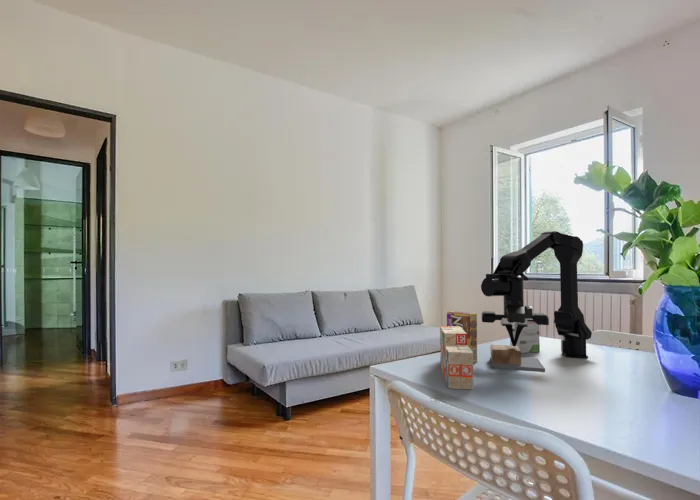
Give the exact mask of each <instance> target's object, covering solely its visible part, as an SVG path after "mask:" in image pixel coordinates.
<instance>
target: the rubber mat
mask: <svg viewBox="0 0 700 500" xmlns="http://www.w3.org/2000/svg"><path fill="white" fill-rule="evenodd" d="M490 360H491V365H492V368H496V369H508V370H509V369H510V370H521V371H522V370H523V371H536V372H545V371H546V368H545V366H544V365H543V363H541V361H540V359H539V357H525V356H524V357H523V356H521V365H519V364H505V363H493V362H492V359H491V358H490Z"/></svg>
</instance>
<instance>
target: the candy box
mask: <svg viewBox="0 0 700 500" xmlns="http://www.w3.org/2000/svg"><path fill="white" fill-rule="evenodd" d="M477 317H478V314H477V313H473V312H464V311H458V310H457V311H456V310H455V311H454V310H450V311H447V312H446V326H450V327H451V326H459V327H461V328H462V329H463V330H464V331H465V332H466V333H467V345H468V346H469V348H470V349H471V351H472V352H473V364H475V363H477V362H478V318H477Z"/></svg>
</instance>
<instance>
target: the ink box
mask: <svg viewBox="0 0 700 500" xmlns="http://www.w3.org/2000/svg"><path fill="white" fill-rule="evenodd" d="M511 324H512V329H513V336H514V331H515V322H513V323H511ZM527 325H528V327H524V328H523V329H522V331H521V333H520V335H519V338H518V341H517V344H516V346H518V347H519V349H520V350H521V354H522V353H525V354H526V353H539V352H541V351H540V347H541V346H540V344H541V343H540V325H537V324H536V323H535V322H530V321H527ZM509 342H510V345H509V346H513V345H512V342H511V339H510V338H509Z"/></svg>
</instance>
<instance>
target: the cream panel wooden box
mask: <svg viewBox="0 0 700 500" xmlns="http://www.w3.org/2000/svg"><path fill="white" fill-rule="evenodd" d="M521 357H522V353H521V350H520V349H519V347H518V346H510V345H502V344H491V345H490V360H491V359H492V361H491V363H492V362H493V363H505V364H519V365H521Z"/></svg>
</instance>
